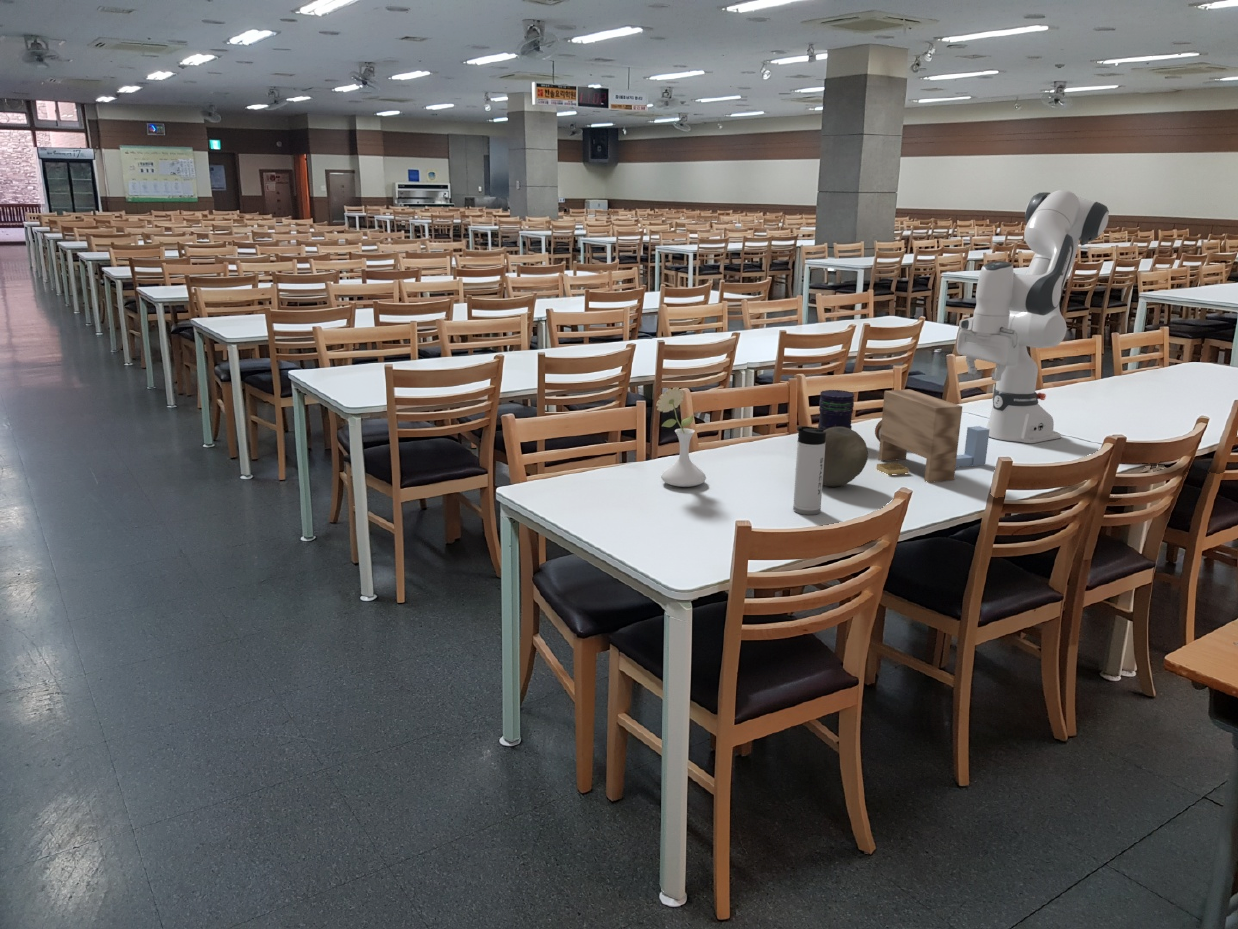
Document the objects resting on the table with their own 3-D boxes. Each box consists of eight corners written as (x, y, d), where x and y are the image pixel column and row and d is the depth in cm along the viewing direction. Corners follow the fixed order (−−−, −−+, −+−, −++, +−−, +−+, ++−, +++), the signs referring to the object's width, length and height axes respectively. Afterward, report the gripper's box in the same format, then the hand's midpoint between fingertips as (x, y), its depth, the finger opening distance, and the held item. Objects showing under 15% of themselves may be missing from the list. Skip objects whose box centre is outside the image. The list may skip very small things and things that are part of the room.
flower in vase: (698, 476, 241) (701, 381, 234) (711, 489, 230) (715, 390, 223) (649, 478, 238) (651, 383, 231) (660, 492, 227) (663, 392, 220)
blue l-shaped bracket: (975, 461, 256) (979, 426, 254) (985, 465, 253) (989, 429, 250) (928, 465, 252) (932, 430, 249) (937, 469, 248) (941, 433, 245)
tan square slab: (896, 469, 249) (897, 462, 249) (908, 475, 244) (909, 468, 243) (876, 471, 248) (876, 463, 247) (887, 477, 242) (888, 470, 242)
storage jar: (848, 448, 268) (853, 397, 264) (814, 445, 271) (818, 395, 267) (852, 440, 277) (856, 391, 273) (818, 437, 280) (822, 388, 276)
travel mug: (788, 506, 218) (793, 424, 212) (816, 506, 218) (821, 423, 212) (795, 515, 212) (801, 430, 206) (823, 515, 212) (830, 430, 206)
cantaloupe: (818, 495, 226) (823, 435, 222) (799, 478, 239) (802, 422, 235) (873, 493, 228) (878, 434, 224) (850, 476, 241) (855, 420, 237)
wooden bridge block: (903, 457, 259) (910, 389, 254) (955, 479, 239) (963, 406, 234) (878, 460, 257) (884, 390, 251) (927, 482, 237) (935, 408, 231)
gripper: (1028, 330, 235) (1021, 383, 239) (974, 319, 253) (968, 369, 257) (1008, 331, 233) (1001, 385, 237) (955, 320, 251) (949, 370, 255)
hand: (983, 377), depth 247 cm, fingers open, 8 cm apart
